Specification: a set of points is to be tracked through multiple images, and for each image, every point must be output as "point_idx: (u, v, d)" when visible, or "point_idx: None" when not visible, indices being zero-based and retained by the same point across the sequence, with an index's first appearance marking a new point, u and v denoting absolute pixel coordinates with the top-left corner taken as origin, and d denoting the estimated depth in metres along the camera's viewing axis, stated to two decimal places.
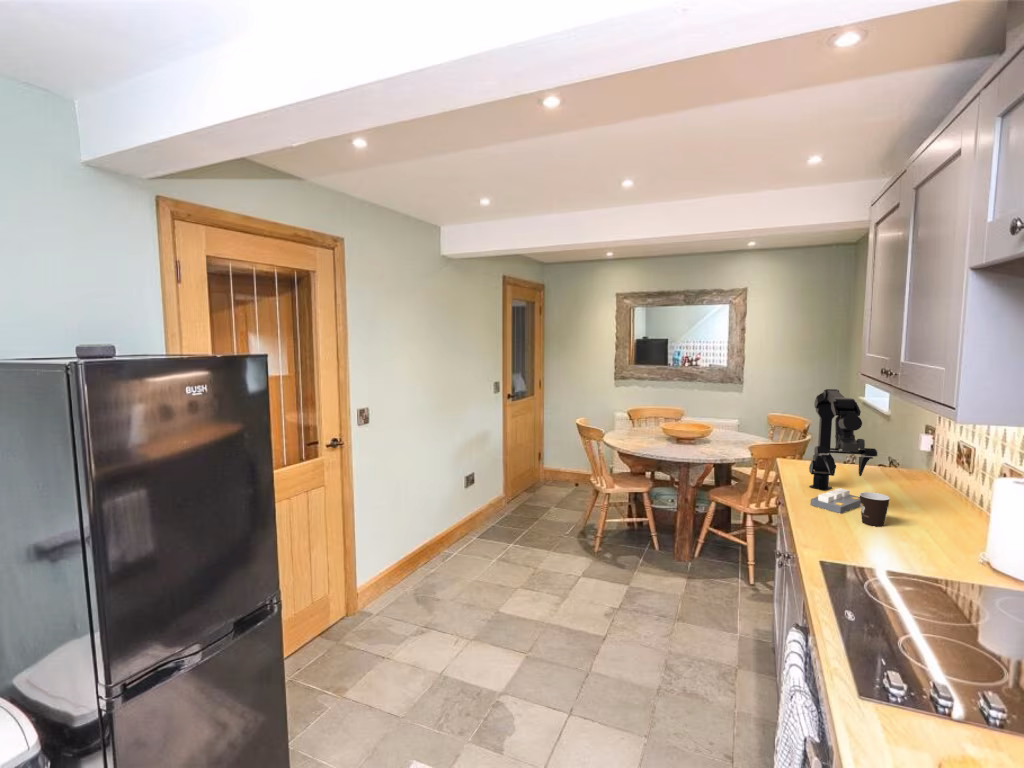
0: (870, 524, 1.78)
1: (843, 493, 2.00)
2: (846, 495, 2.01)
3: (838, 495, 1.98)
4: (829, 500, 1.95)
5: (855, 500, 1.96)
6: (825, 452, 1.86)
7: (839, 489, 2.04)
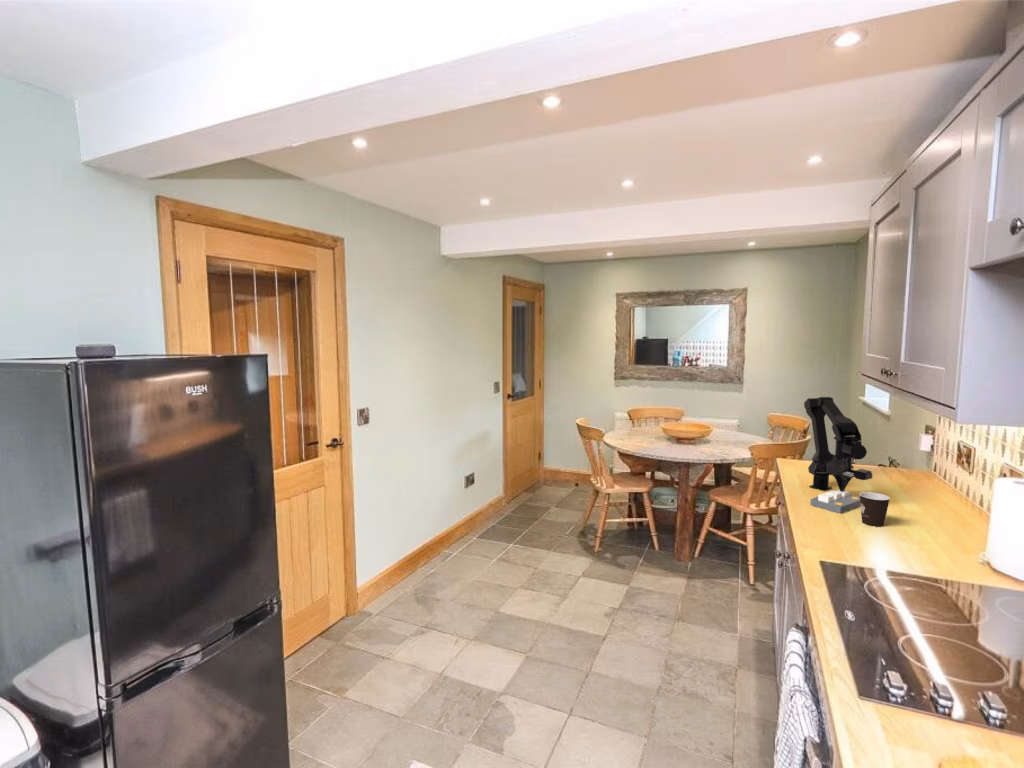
0: (870, 524, 1.78)
1: (843, 494, 2.00)
2: (846, 496, 2.01)
3: (838, 495, 1.98)
4: (829, 500, 1.95)
5: (855, 500, 1.96)
6: (820, 469, 2.06)
7: (838, 490, 2.04)
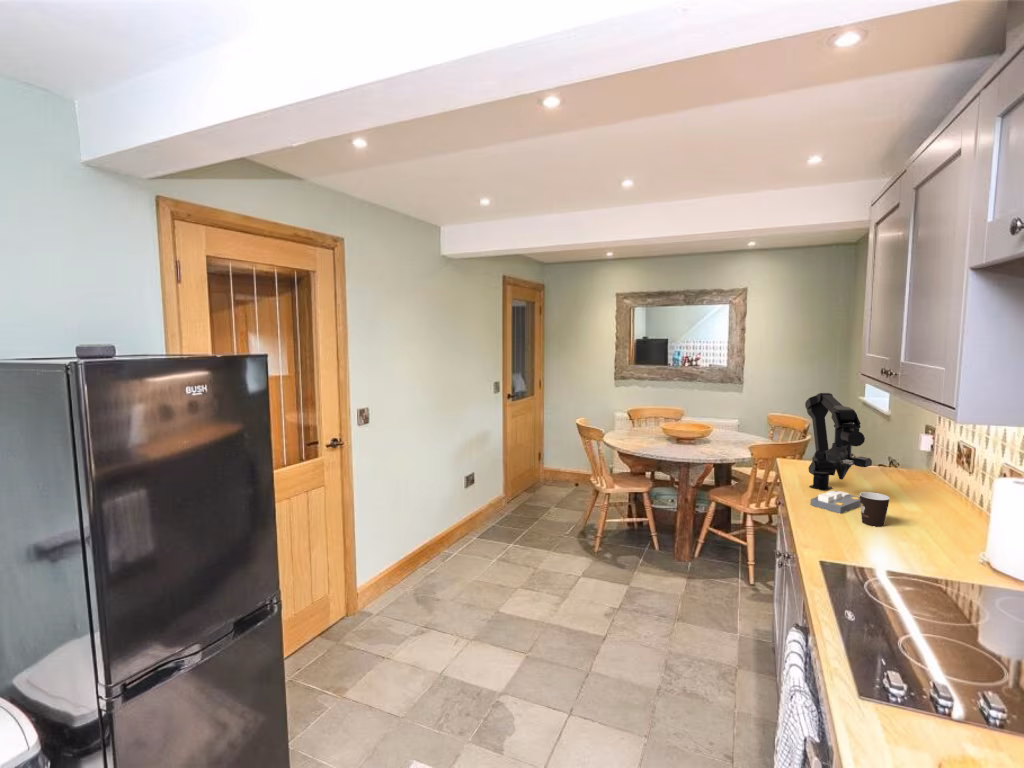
0: (870, 524, 1.78)
1: (843, 496, 2.01)
2: None
3: (838, 495, 1.98)
4: (829, 500, 1.95)
5: (855, 500, 1.96)
6: (819, 457, 2.05)
7: None
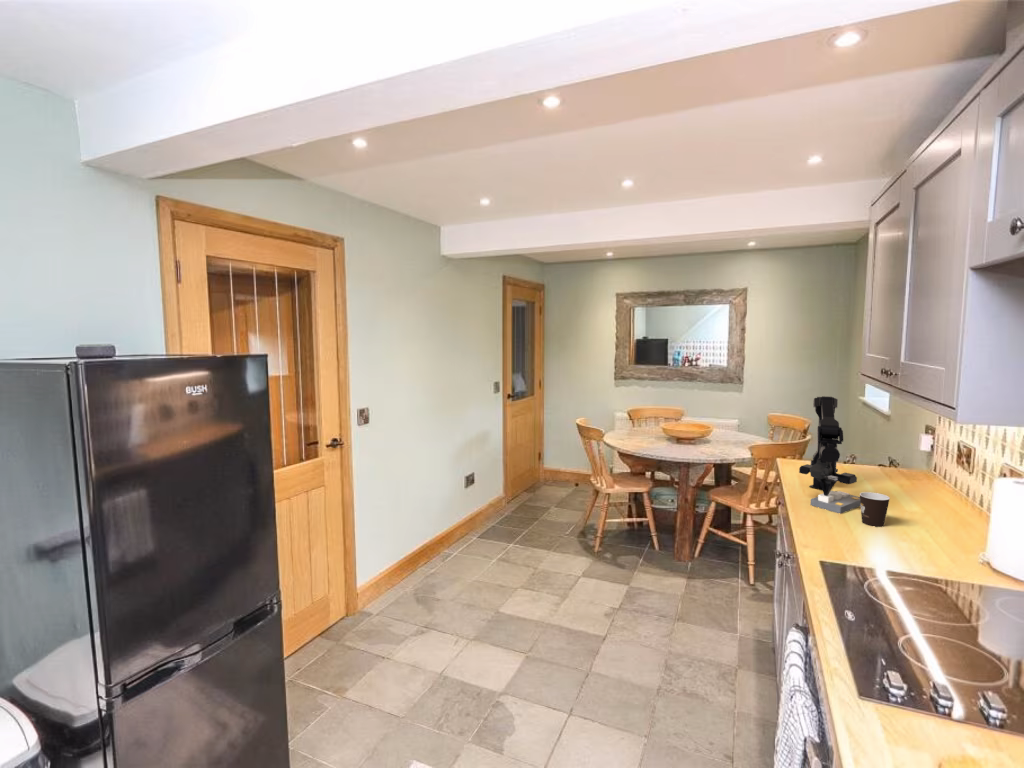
0: (870, 524, 1.78)
1: (843, 496, 2.01)
2: None
3: (838, 495, 1.98)
4: (829, 500, 1.95)
5: (855, 500, 1.96)
6: (804, 473, 2.00)
7: None
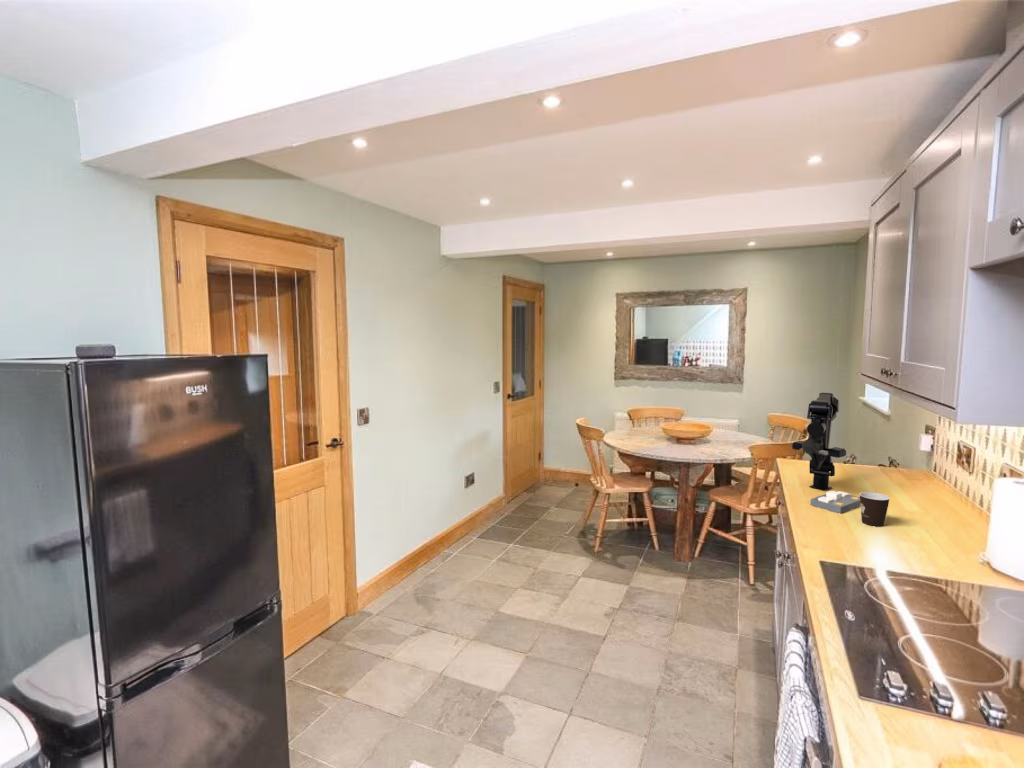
0: (870, 524, 1.78)
1: (843, 496, 2.01)
2: None
3: (838, 495, 1.98)
4: None
5: (855, 500, 1.96)
6: (796, 448, 2.11)
7: None
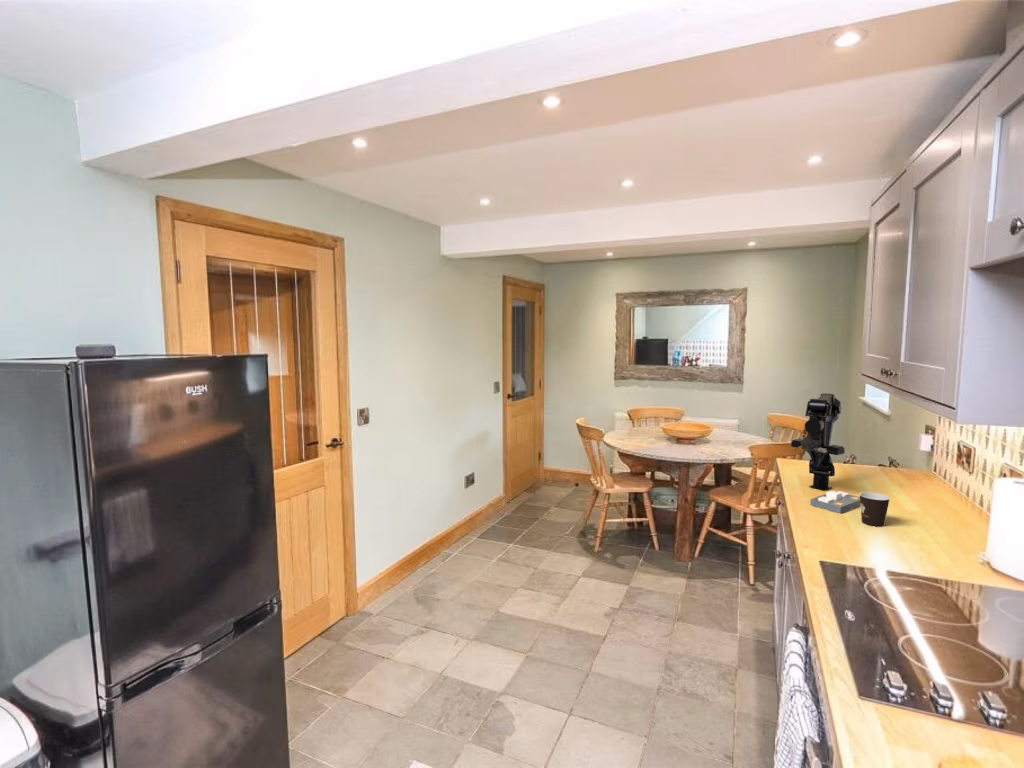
0: (870, 524, 1.78)
1: (843, 496, 2.01)
2: None
3: (838, 495, 1.98)
4: None
5: (855, 500, 1.96)
6: (795, 446, 2.13)
7: None
